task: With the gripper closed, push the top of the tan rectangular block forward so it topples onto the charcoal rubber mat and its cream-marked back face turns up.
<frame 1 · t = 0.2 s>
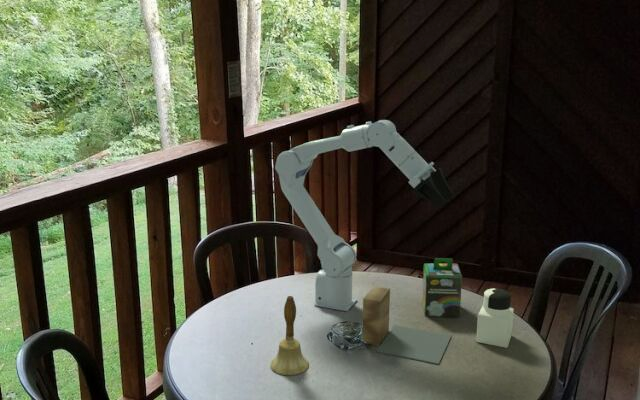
hand: (446, 201, 139), 31 cm above the table, tool tilted 50°, fingers open, 7 cm apart
tan rectangular block: (375, 336, 140), on the table
chalk box: (440, 310, 155), on the table
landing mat: (414, 344, 136), on the table
hand bell: (289, 366, 127), on the table
medicine bottle: (493, 339, 139), on the table
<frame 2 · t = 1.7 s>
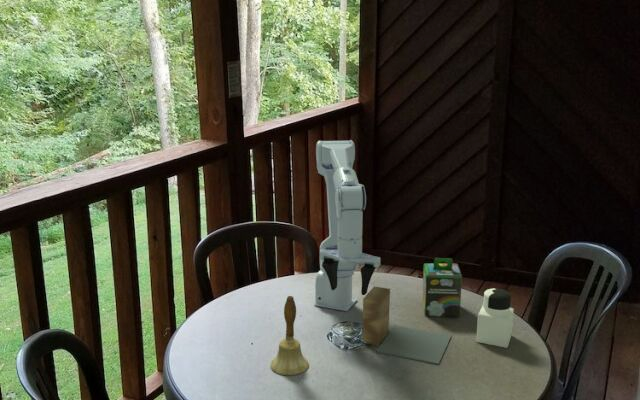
hand: (349, 291, 140), 10 cm above the table, tool pointing down, fingers open, 7 cm apart
nothing on the table moved.
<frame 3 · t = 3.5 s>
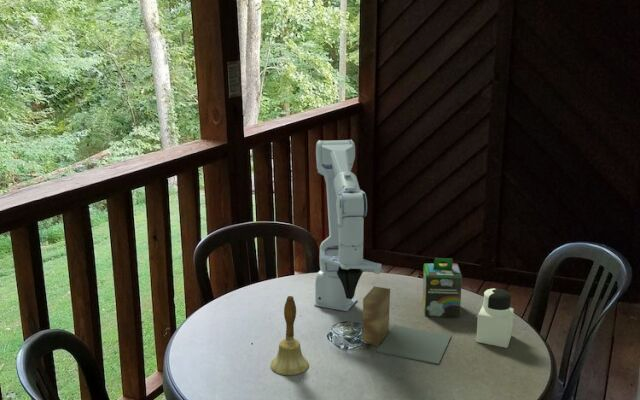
hand: (350, 297, 140), 9 cm above the table, tool pointing down, fingers closed
nothing on the table moved.
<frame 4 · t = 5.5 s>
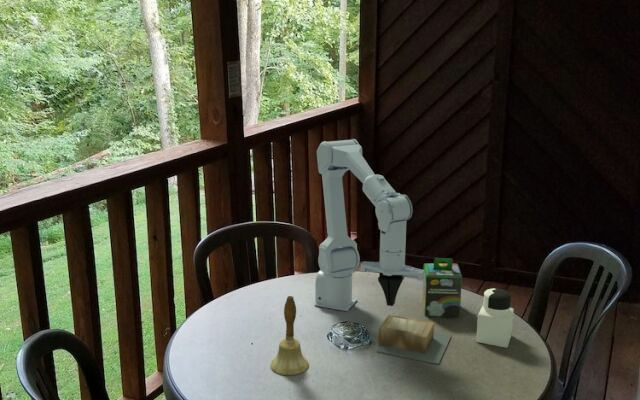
hand: (390, 304, 136), 9 cm above the table, tool pointing down, fingers closed
tan rectangular block: (383, 329, 139), point 2 cm above the table, tilted 90°, touching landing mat
everything else where it was.
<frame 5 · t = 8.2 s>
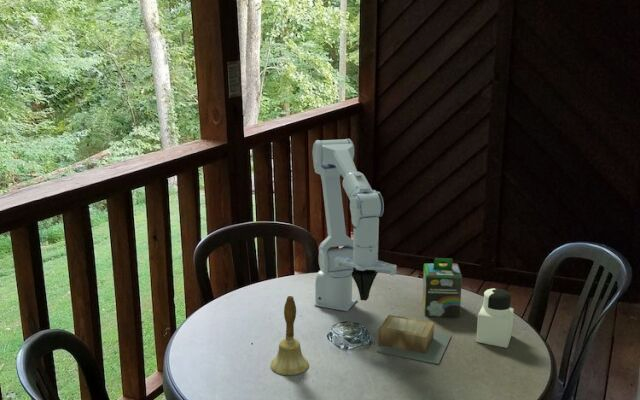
hand: (364, 298, 139), 9 cm above the table, tool pointing down, fingers closed
nothing on the table moved.
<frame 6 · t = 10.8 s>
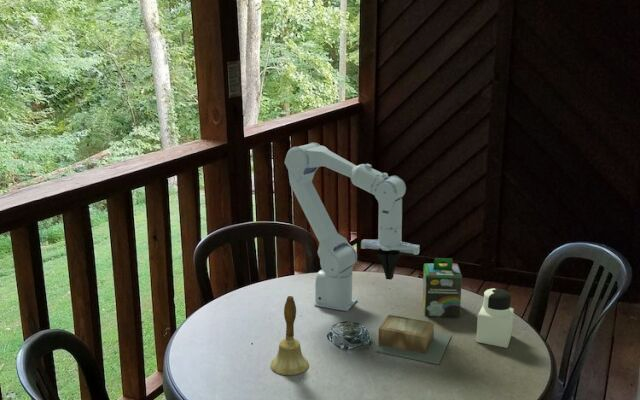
hand: (389, 278, 148), 10 cm above the table, tool pointing down, fingers closed
nothing on the table moved.
at the end: tan rectangular block tilted 90°; tan rectangular block inside the target area (0.1 cm from its centre), point 2.3 cm above the table; tan rectangular block touching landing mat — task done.
